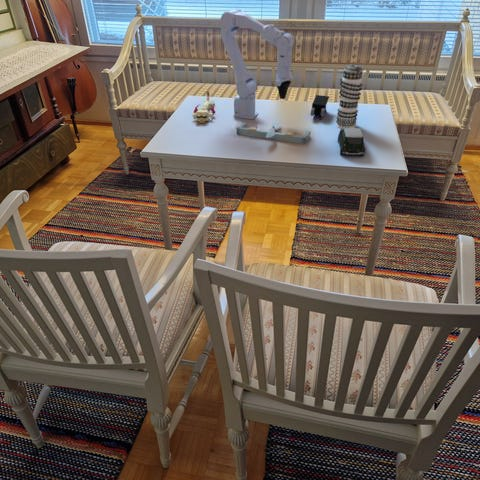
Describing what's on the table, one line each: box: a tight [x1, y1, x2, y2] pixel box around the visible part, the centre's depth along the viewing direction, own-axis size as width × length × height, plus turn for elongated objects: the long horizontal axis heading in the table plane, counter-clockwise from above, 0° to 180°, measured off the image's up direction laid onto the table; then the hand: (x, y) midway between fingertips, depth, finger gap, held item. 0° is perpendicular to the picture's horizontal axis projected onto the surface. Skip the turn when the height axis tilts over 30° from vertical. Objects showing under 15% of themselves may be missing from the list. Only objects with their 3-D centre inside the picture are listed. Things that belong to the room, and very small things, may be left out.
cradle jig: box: [236, 121, 311, 145], centre depth 177 cm, size 30×8×3 cm, turn 67°
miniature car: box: [337, 127, 366, 157], centre depth 164 cm, size 9×18×8 cm, turn 174°
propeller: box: [265, 119, 281, 139], centre depth 176 cm, size 4×25×4 cm, turn 163°
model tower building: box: [335, 63, 364, 130], centre depth 178 cm, size 9×9×25 cm
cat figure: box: [192, 90, 216, 124], centre depth 197 cm, size 10×9×25 cm
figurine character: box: [310, 94, 330, 121], centre depth 194 cm, size 7×8×15 cm
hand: (282, 98), depth 184 cm, fingers closed
